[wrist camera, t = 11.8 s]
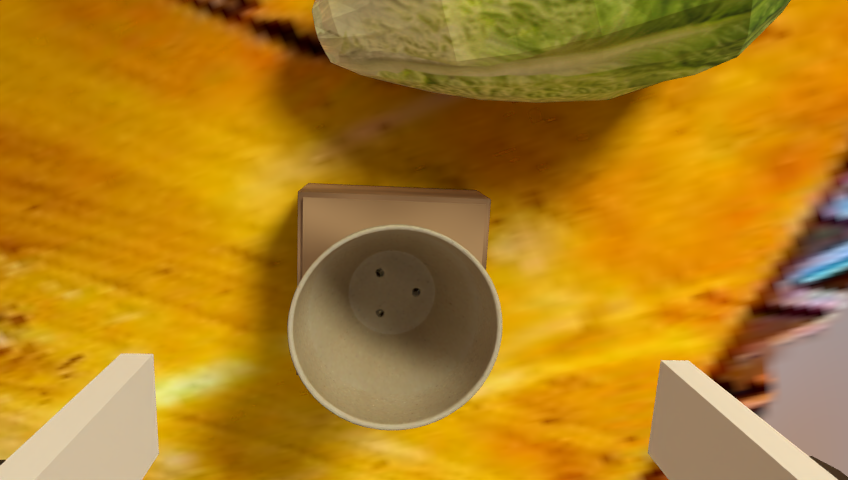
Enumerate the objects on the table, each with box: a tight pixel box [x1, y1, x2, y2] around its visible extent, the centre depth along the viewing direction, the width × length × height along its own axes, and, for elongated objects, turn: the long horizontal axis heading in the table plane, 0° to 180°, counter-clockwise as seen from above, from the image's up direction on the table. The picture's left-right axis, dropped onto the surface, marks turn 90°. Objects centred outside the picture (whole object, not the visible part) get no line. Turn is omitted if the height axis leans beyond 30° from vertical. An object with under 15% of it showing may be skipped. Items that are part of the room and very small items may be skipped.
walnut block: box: [297, 183, 491, 375], centre depth 36 cm, size 11×11×5 cm
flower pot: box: [287, 224, 502, 430], centre depth 30 cm, size 10×10×7 cm
